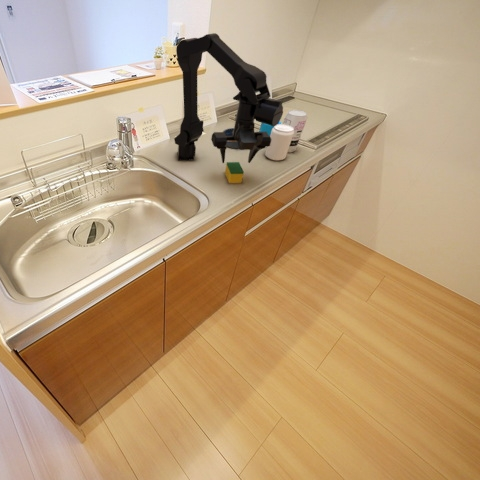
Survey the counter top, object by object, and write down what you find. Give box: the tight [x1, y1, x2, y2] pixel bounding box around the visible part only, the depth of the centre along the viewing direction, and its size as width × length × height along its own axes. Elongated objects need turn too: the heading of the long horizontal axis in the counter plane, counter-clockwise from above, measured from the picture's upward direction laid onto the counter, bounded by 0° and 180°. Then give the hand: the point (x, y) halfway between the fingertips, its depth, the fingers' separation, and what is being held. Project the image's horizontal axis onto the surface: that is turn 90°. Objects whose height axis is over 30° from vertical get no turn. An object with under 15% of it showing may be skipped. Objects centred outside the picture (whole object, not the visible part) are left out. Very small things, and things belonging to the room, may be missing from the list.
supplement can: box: [282, 109, 308, 154], centre depth 113 cm, size 8×8×15 cm
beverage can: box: [264, 123, 294, 161], centre depth 109 cm, size 8×8×12 cm
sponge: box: [224, 161, 245, 184], centre depth 99 cm, size 7×4×4 cm, turn 2°
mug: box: [258, 120, 282, 136], centre depth 122 cm, size 12×8×8 cm
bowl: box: [222, 127, 240, 150], centre depth 121 cm, size 13×13×4 cm
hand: (235, 162), depth 97 cm, fingers open, 9 cm apart
